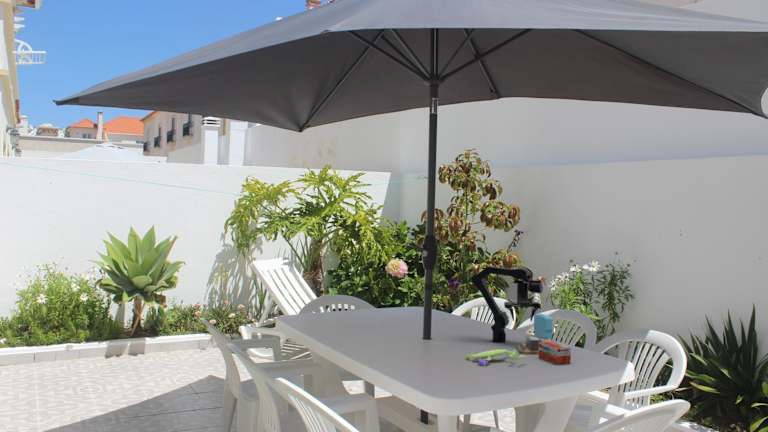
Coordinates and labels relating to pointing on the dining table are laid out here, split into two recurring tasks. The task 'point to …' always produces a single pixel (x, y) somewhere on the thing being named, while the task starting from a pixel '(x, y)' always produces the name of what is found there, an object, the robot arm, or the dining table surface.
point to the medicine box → (554, 352)
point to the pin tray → (525, 349)
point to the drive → (533, 343)
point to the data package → (543, 326)
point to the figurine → (491, 354)
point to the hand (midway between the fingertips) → (522, 321)
